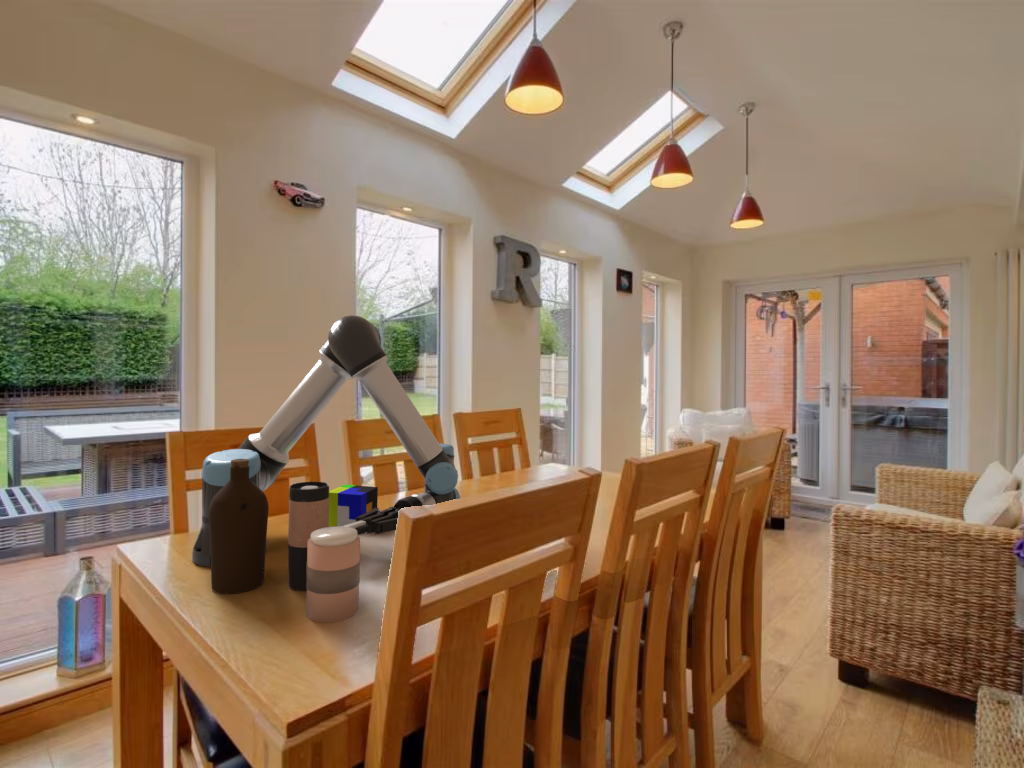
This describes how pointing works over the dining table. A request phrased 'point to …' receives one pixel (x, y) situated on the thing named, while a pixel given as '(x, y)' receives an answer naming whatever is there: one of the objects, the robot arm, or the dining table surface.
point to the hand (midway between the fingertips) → (341, 534)
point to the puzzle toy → (350, 503)
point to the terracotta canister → (333, 574)
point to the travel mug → (304, 526)
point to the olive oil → (238, 533)
